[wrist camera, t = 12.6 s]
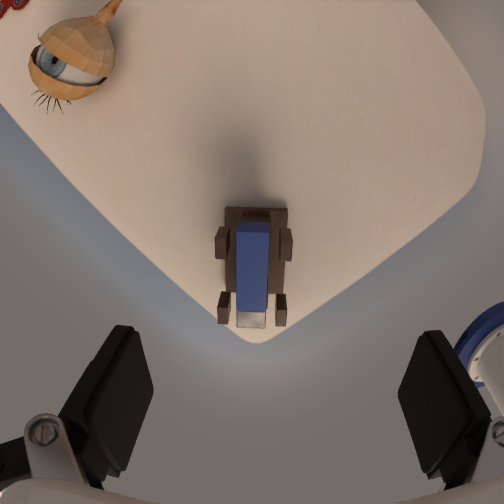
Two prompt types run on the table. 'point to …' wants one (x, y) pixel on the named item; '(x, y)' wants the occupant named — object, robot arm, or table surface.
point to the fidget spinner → (15, 1)
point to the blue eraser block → (251, 273)
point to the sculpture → (74, 56)
